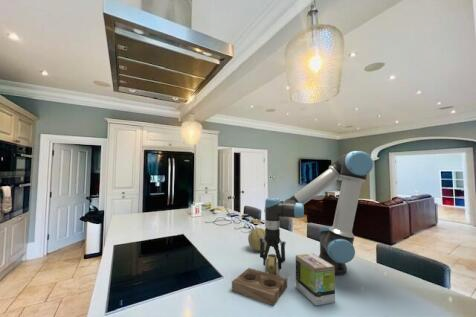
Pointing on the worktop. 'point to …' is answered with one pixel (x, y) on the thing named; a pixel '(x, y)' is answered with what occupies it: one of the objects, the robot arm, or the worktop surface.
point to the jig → (260, 285)
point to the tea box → (315, 278)
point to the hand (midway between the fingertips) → (272, 273)
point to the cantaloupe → (256, 238)
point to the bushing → (272, 264)
